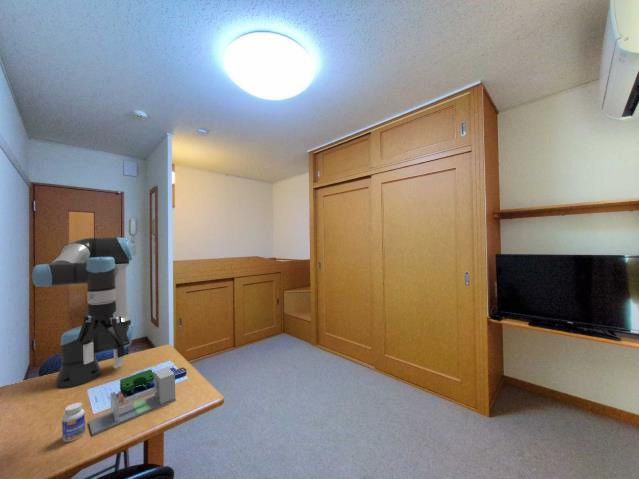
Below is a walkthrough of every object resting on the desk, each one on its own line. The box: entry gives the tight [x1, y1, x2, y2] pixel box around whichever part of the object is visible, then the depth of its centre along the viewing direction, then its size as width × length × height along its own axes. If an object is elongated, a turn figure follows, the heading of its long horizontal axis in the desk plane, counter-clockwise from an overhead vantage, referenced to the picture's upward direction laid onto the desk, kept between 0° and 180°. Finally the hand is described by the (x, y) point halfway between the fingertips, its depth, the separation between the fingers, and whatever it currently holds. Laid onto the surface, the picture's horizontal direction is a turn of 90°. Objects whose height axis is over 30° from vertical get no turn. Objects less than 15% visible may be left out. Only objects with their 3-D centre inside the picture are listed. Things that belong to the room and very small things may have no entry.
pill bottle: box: [61, 402, 86, 443], centre depth 86 cm, size 5×5×10 cm
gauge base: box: [88, 366, 177, 437], centre depth 98 cm, size 9×25×10 cm, turn 137°
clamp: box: [119, 368, 154, 394], centre depth 112 cm, size 12×6×9 cm, turn 132°
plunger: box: [110, 386, 159, 421], centre depth 98 cm, size 7×14×7 cm, turn 137°
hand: (103, 364), depth 91 cm, fingers open, 13 cm apart
